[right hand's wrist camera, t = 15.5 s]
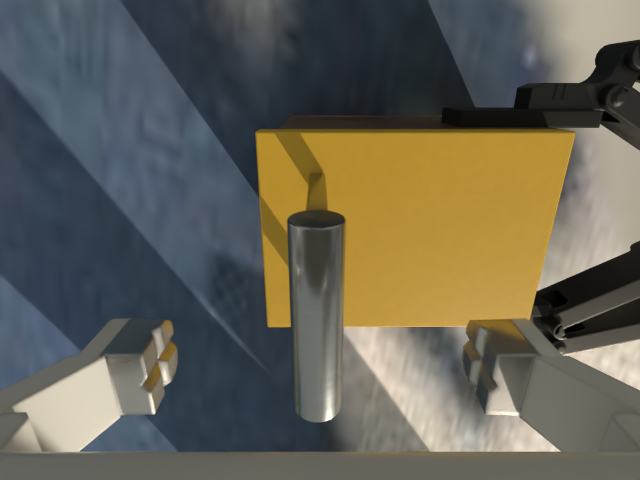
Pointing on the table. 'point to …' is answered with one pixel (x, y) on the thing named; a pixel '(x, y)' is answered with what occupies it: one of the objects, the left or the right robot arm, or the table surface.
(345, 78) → the table surface
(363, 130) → the lid
